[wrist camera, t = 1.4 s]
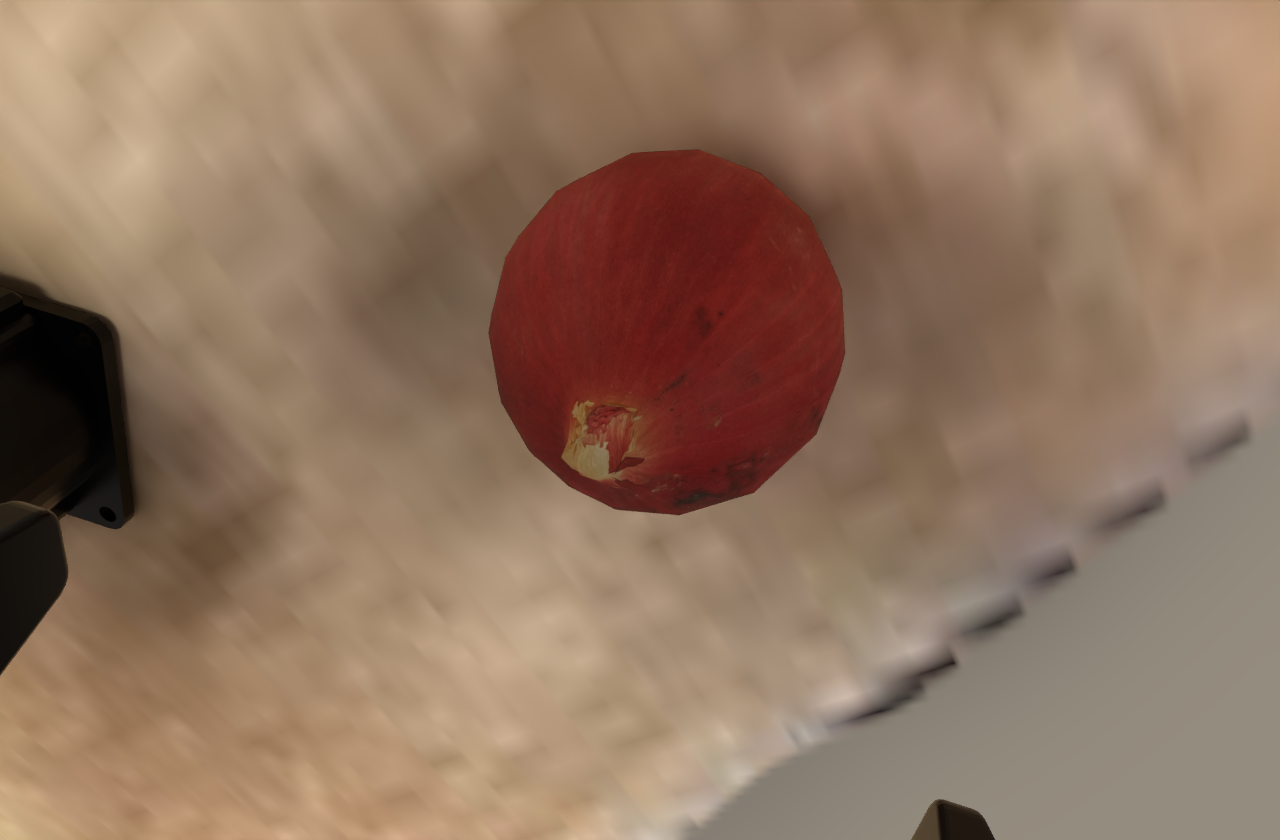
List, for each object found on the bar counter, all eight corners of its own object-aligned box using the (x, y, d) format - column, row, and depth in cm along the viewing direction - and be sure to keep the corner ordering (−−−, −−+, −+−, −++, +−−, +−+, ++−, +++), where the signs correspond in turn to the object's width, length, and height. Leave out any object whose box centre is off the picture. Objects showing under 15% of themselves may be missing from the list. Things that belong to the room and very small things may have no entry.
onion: (904, 329, 19) (890, 593, 13) (651, 417, 22) (530, 676, 15) (781, 48, 17) (689, 187, 11) (518, 180, 20) (310, 360, 13)
